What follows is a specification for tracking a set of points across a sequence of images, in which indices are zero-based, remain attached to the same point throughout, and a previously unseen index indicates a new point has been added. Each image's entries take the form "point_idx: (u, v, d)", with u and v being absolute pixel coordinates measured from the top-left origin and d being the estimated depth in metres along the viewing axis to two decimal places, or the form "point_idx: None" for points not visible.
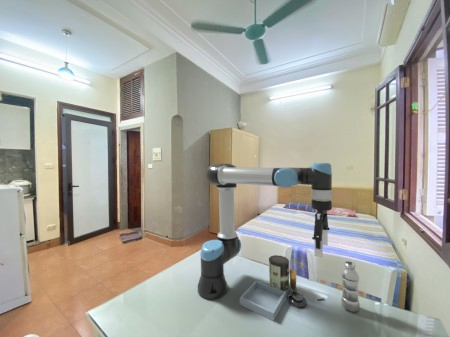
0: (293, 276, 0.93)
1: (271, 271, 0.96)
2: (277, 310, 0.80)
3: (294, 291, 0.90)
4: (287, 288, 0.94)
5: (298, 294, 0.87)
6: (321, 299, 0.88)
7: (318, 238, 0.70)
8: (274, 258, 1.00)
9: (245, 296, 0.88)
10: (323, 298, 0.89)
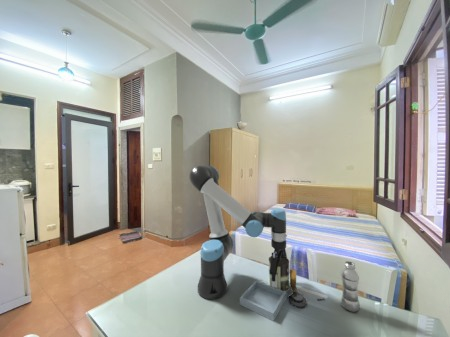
0: (293, 276, 0.93)
1: None
2: (277, 310, 0.80)
3: (294, 291, 0.90)
4: (287, 288, 0.94)
5: (298, 294, 0.87)
6: (321, 299, 0.88)
7: (272, 273, 0.90)
8: None
9: (245, 296, 0.88)
10: (323, 298, 0.89)
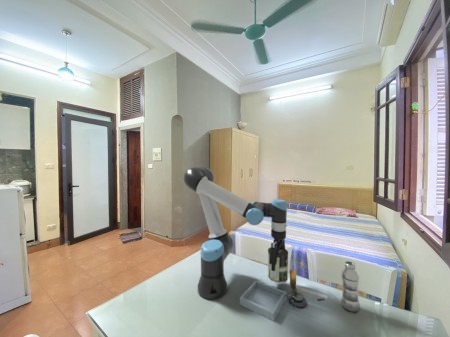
0: (293, 276, 0.93)
1: None
2: (277, 310, 0.80)
3: (294, 291, 0.90)
4: (285, 279, 0.95)
5: (298, 294, 0.87)
6: (321, 299, 0.88)
7: (272, 263, 0.91)
8: None
9: (245, 296, 0.88)
10: (323, 298, 0.89)
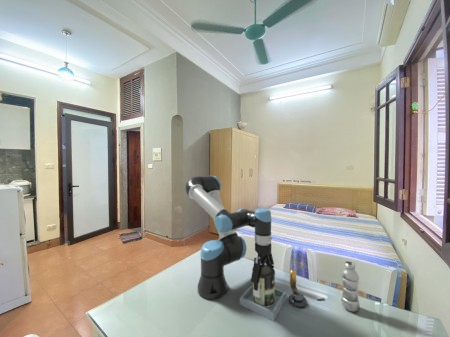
0: (293, 276, 0.93)
1: None
2: (277, 310, 0.80)
3: (294, 291, 0.90)
4: (272, 302, 0.84)
5: (298, 294, 0.87)
6: (321, 299, 0.88)
7: (254, 281, 0.79)
8: None
9: (245, 296, 0.88)
10: (323, 298, 0.89)
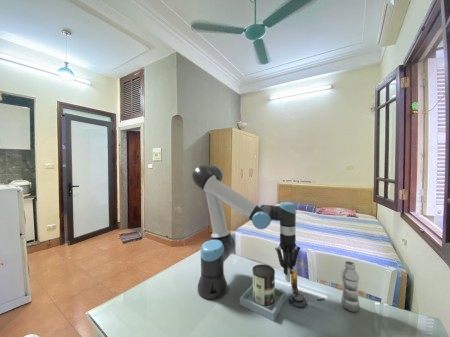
0: (294, 276, 0.93)
1: (254, 283, 0.85)
2: (277, 310, 0.80)
3: (294, 291, 0.90)
4: (272, 302, 0.84)
5: (298, 294, 0.87)
6: (321, 299, 0.88)
7: None
8: (258, 268, 0.89)
9: (245, 296, 0.88)
10: (323, 298, 0.89)
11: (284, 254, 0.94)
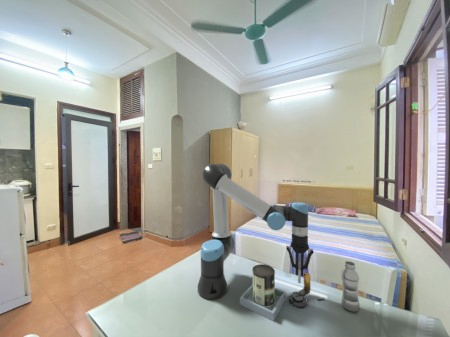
0: (305, 279, 0.91)
1: (254, 283, 0.85)
2: (277, 310, 0.80)
3: (299, 292, 0.89)
4: (272, 302, 0.84)
5: (299, 295, 0.87)
6: (321, 299, 0.88)
7: (292, 265, 0.94)
8: (258, 268, 0.89)
9: (245, 296, 0.88)
10: (323, 298, 0.89)
11: (295, 254, 0.94)
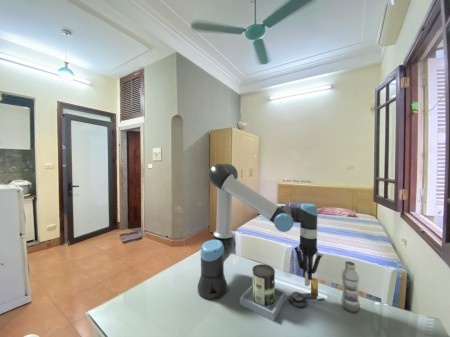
0: (311, 283, 0.87)
1: (254, 283, 0.85)
2: (277, 310, 0.80)
3: (302, 294, 0.88)
4: (272, 302, 0.84)
5: (299, 296, 0.86)
6: (321, 299, 0.88)
7: None
8: (258, 268, 0.89)
9: (245, 296, 0.88)
10: (323, 298, 0.89)
11: None
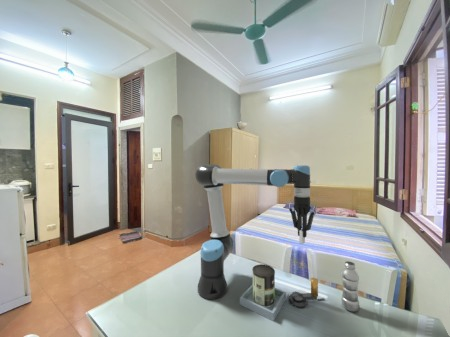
0: (311, 283, 0.87)
1: (254, 283, 0.85)
2: (277, 310, 0.80)
3: (302, 294, 0.88)
4: (272, 302, 0.84)
5: (299, 296, 0.86)
6: (321, 299, 0.88)
7: None
8: (258, 268, 0.89)
9: (245, 296, 0.88)
10: (323, 298, 0.89)
11: None
